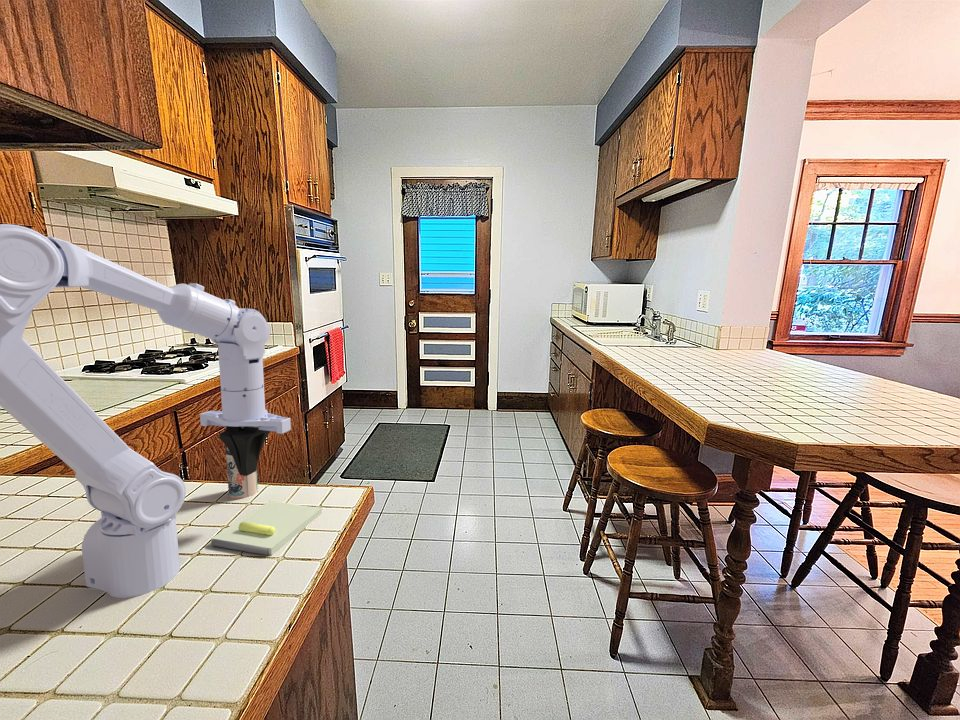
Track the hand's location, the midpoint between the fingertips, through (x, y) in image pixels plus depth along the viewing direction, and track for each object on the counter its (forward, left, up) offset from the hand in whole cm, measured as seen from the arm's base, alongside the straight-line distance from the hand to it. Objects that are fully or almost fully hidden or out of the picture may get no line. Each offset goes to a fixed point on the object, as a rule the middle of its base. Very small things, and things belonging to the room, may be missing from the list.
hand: (248, 473), depth 65 cm
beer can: (-9, +8, -10) cm, 16 cm away
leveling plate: (+4, -1, -8) cm, 9 cm away
